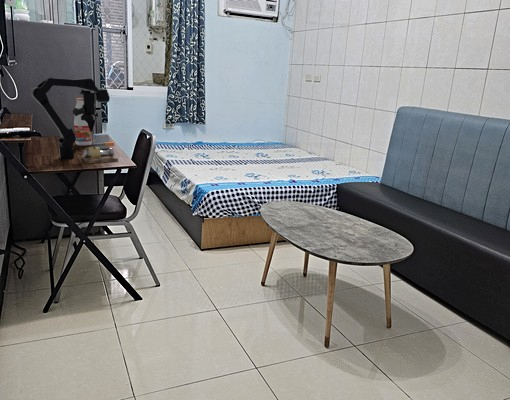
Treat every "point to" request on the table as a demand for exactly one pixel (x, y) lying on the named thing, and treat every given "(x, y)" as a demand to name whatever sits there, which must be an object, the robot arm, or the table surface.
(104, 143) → the valve lever
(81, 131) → the fruit juice
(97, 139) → the medicine box
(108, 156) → the valve board
